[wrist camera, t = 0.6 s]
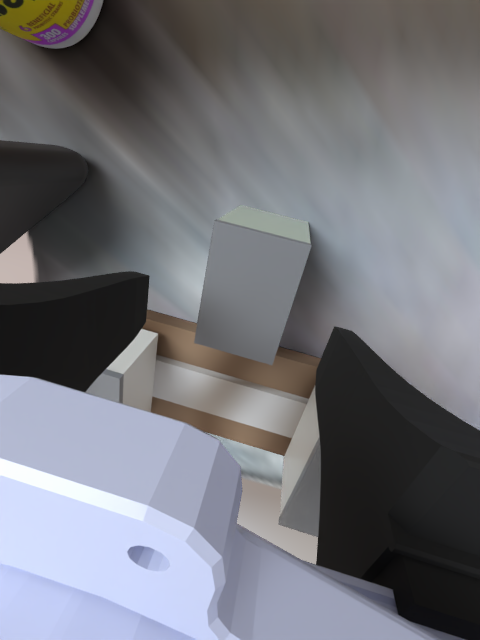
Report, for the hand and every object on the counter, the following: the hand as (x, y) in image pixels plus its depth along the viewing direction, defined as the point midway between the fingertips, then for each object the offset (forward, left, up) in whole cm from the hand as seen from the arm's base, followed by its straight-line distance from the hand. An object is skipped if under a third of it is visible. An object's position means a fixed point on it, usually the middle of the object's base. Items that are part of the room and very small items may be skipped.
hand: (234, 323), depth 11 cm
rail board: (0, +10, -8) cm, 13 cm away
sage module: (0, 0, -8) cm, 8 cm away
